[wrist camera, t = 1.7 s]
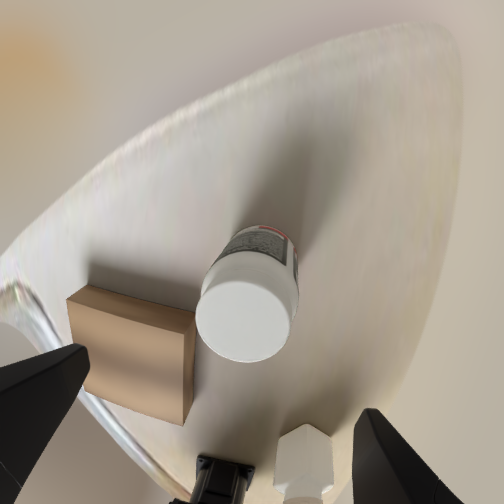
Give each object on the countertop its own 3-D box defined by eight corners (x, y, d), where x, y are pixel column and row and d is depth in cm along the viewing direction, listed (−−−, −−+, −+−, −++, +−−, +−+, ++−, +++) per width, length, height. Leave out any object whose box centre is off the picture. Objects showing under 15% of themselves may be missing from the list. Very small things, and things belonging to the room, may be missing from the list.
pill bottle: (211, 251, 20) (162, 308, 12) (268, 209, 19) (250, 246, 11) (254, 304, 21) (232, 383, 13) (311, 268, 20) (320, 338, 12)
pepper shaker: (275, 436, 25) (265, 519, 16) (306, 419, 24) (304, 508, 15) (303, 452, 26) (299, 530, 17) (334, 436, 24) (338, 519, 15)
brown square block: (192, 403, 25) (182, 426, 22) (99, 373, 26) (84, 391, 23) (197, 313, 22) (184, 334, 19) (87, 284, 23) (66, 299, 20)
